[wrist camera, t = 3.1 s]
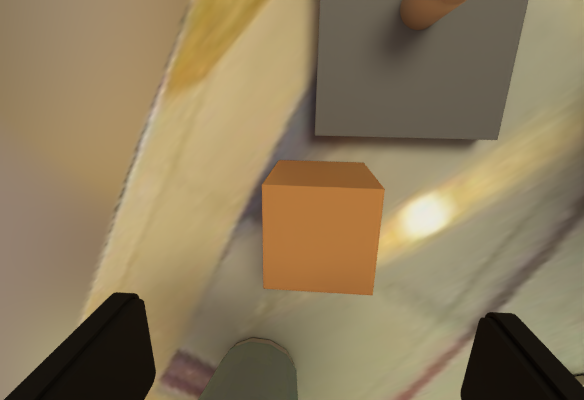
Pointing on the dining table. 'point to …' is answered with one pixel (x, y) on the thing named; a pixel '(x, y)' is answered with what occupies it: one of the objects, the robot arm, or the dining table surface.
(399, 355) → the dining table surface
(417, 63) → the pin board
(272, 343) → the disposable coffee cup
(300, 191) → the terracotta colored cube
